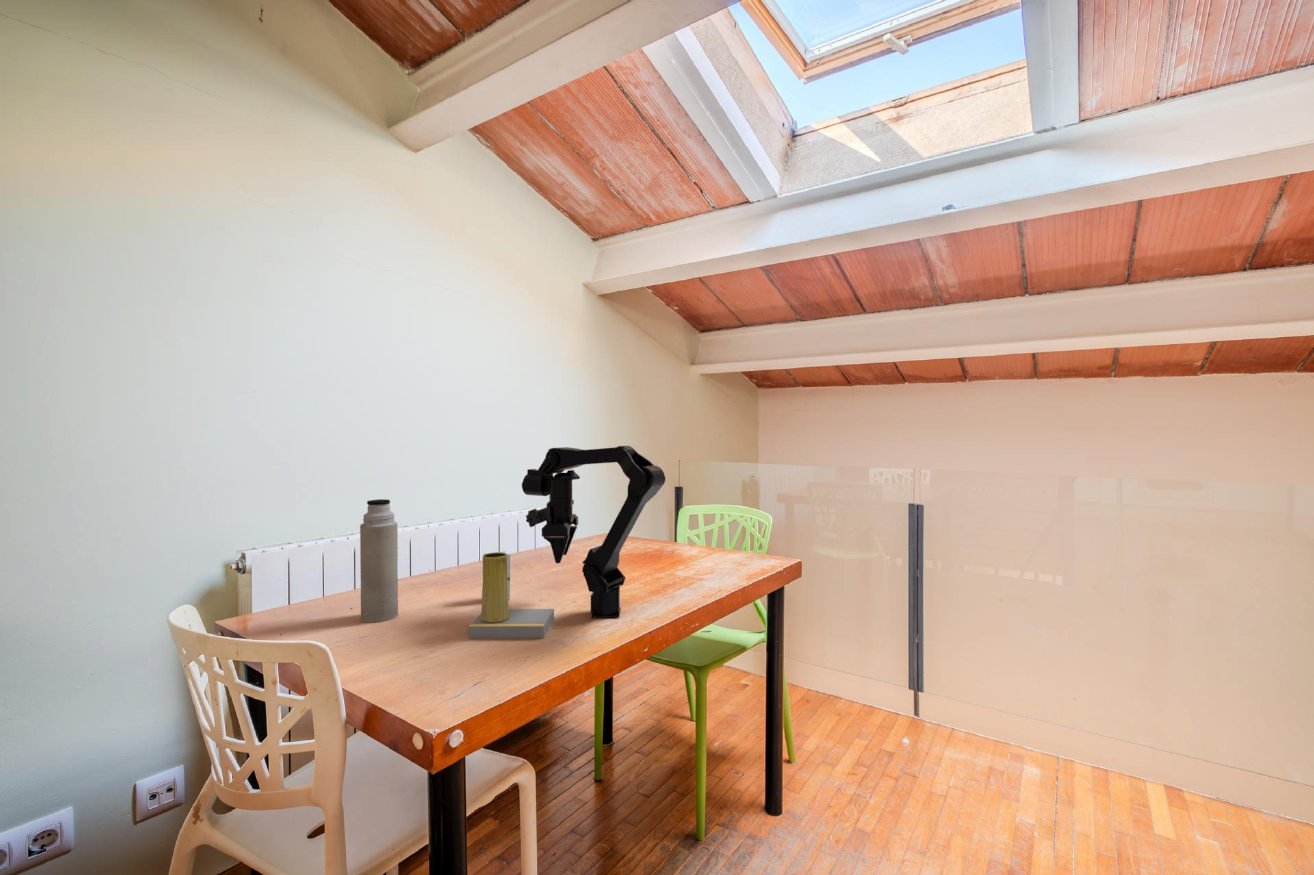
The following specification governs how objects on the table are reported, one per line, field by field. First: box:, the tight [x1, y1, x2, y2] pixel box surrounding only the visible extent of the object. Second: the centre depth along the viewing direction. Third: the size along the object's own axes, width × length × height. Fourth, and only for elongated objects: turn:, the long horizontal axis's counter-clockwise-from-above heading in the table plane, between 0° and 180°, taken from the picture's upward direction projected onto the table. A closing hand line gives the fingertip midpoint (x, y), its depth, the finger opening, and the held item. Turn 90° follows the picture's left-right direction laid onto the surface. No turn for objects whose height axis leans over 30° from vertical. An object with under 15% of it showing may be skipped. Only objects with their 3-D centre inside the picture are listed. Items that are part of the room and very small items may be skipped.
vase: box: [480, 551, 510, 623], centre depth 125 cm, size 6×6×14 cm
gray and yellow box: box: [468, 608, 555, 639], centre depth 126 cm, size 16×12×3 cm
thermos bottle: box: [359, 498, 399, 623], centre depth 134 cm, size 8×8×28 cm
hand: (561, 558), depth 142 cm, fingers open, 9 cm apart
